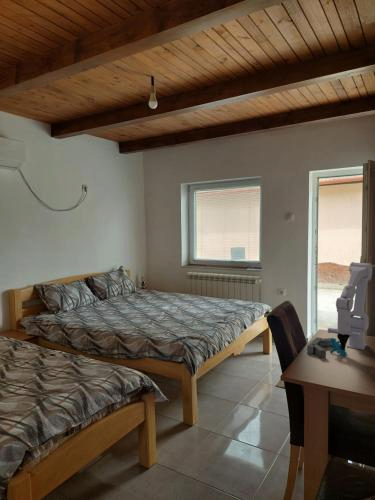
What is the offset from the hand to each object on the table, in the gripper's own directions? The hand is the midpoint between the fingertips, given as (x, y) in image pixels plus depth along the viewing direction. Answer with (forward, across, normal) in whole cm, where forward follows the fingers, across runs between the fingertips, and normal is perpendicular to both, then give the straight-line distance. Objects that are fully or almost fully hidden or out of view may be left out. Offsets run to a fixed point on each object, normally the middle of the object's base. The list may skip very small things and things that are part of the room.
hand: (343, 349), depth 173 cm
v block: (+3, -10, 0) cm, 11 cm away
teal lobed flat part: (+3, -2, 0) cm, 4 cm away
